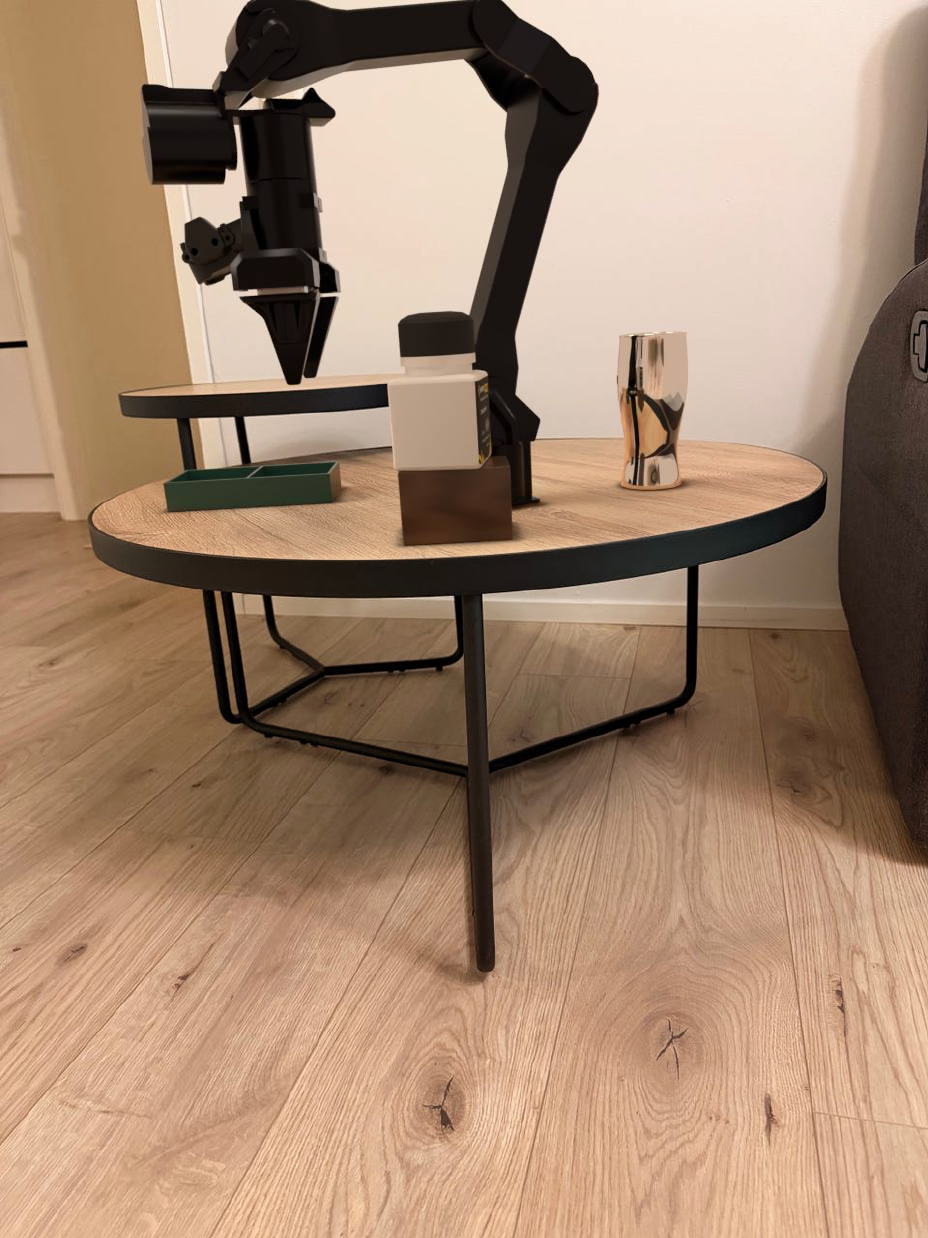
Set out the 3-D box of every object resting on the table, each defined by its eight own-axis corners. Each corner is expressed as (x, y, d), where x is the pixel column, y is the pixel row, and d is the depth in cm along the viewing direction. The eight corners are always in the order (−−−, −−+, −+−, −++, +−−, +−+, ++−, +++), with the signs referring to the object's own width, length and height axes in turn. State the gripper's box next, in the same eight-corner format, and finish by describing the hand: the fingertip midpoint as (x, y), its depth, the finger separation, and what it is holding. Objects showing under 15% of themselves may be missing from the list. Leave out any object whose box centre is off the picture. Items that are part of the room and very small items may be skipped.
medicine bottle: (481, 469, 72) (473, 309, 69) (393, 472, 74) (380, 314, 70) (492, 455, 79) (485, 309, 75) (411, 458, 80) (400, 314, 77)
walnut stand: (508, 523, 81) (506, 455, 79) (512, 539, 75) (510, 466, 73) (407, 529, 81) (401, 461, 79) (403, 545, 75) (397, 472, 73)
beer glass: (609, 481, 98) (608, 334, 93) (672, 476, 99) (675, 330, 94) (627, 492, 91) (627, 335, 87) (695, 487, 92) (699, 331, 87)
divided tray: (341, 487, 104) (339, 461, 103) (332, 502, 96) (329, 473, 95) (189, 496, 104) (185, 470, 103) (167, 511, 96) (163, 483, 95)
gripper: (211, 203, 84) (234, 379, 89) (147, 172, 66) (180, 395, 71) (332, 196, 84) (349, 373, 89) (301, 163, 66) (324, 386, 71)
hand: (302, 381), depth 80 cm, fingers open, 9 cm apart
